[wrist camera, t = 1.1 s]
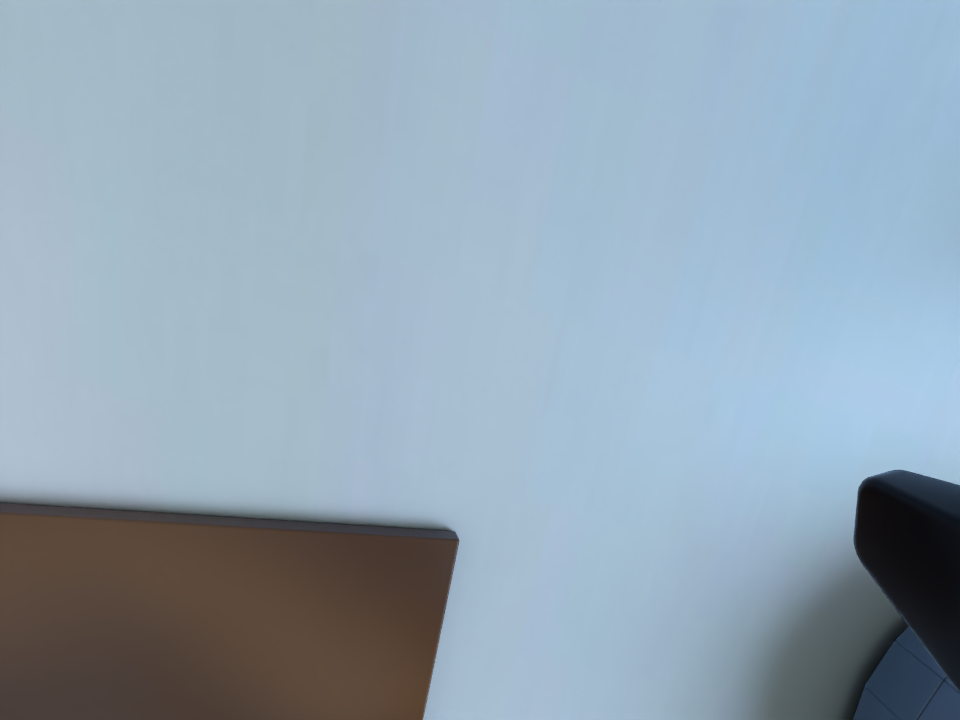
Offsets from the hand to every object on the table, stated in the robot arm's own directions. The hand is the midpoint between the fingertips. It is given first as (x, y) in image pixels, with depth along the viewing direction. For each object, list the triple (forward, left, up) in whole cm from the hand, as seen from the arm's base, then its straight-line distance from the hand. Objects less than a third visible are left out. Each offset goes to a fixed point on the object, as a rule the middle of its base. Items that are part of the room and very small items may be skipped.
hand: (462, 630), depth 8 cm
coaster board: (-13, +3, -14) cm, 19 cm away
